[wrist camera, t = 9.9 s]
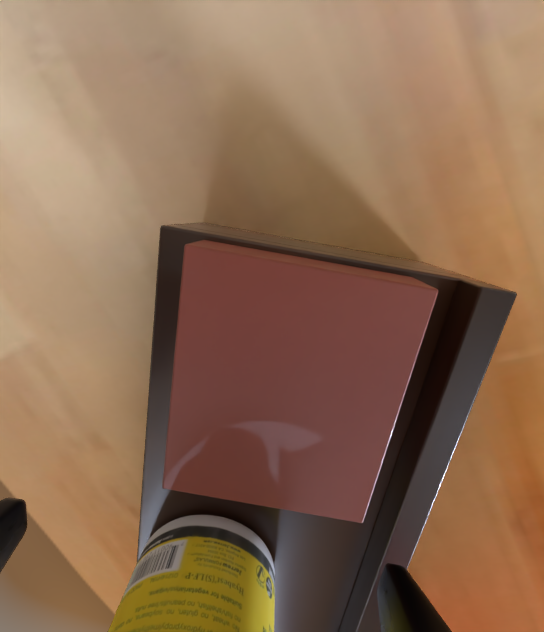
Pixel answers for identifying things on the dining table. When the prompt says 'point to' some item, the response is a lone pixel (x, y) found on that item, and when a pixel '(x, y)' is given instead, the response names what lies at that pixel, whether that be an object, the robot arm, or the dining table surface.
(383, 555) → the walnut shelf
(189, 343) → the red book
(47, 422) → the dining table surface
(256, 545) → the supplement bottle
